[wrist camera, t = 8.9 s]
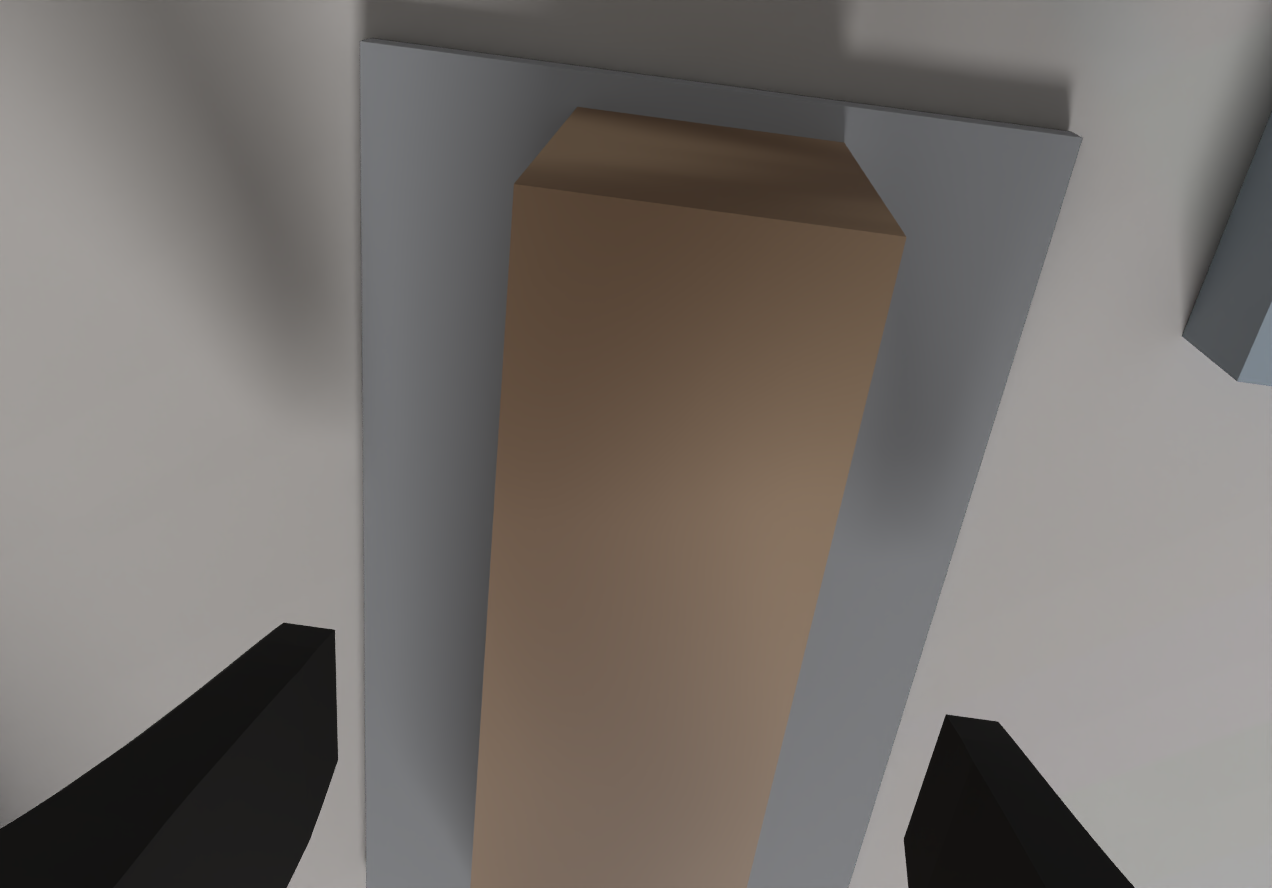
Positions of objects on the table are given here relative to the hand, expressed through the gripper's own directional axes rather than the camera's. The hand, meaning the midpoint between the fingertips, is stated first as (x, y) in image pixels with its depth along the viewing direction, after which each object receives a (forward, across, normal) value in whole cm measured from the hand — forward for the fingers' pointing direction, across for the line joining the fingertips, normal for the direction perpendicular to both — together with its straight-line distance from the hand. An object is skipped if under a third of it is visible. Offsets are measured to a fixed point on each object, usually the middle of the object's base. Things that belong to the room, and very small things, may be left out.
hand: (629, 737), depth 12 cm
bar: (+3, 0, 0) cm, 3 cm away
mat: (+3, 0, 0) cm, 3 cm away
